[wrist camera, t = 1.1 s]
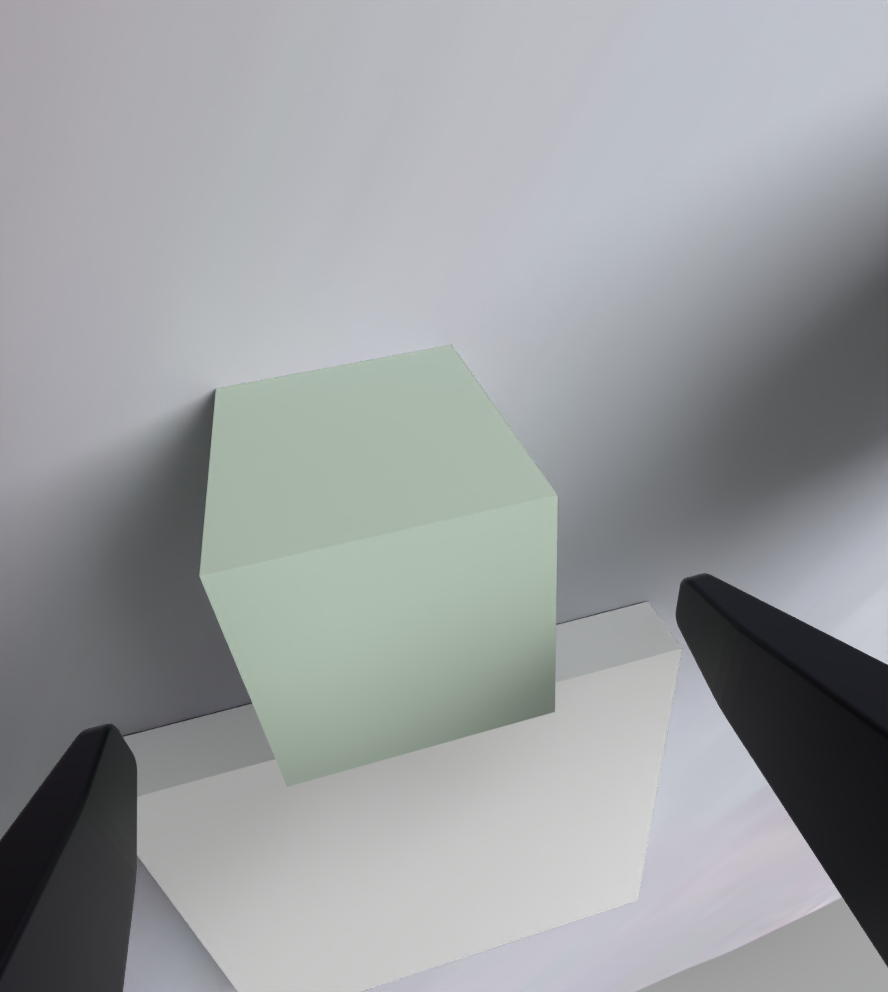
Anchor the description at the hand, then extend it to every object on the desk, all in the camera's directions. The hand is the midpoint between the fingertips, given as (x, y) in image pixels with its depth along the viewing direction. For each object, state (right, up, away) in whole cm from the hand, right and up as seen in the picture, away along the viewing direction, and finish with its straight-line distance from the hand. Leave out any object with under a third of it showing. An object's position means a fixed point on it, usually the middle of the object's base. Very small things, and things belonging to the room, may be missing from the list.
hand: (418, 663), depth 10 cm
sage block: (-2, +3, +5) cm, 6 cm away
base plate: (0, -9, +14) cm, 16 cm away
